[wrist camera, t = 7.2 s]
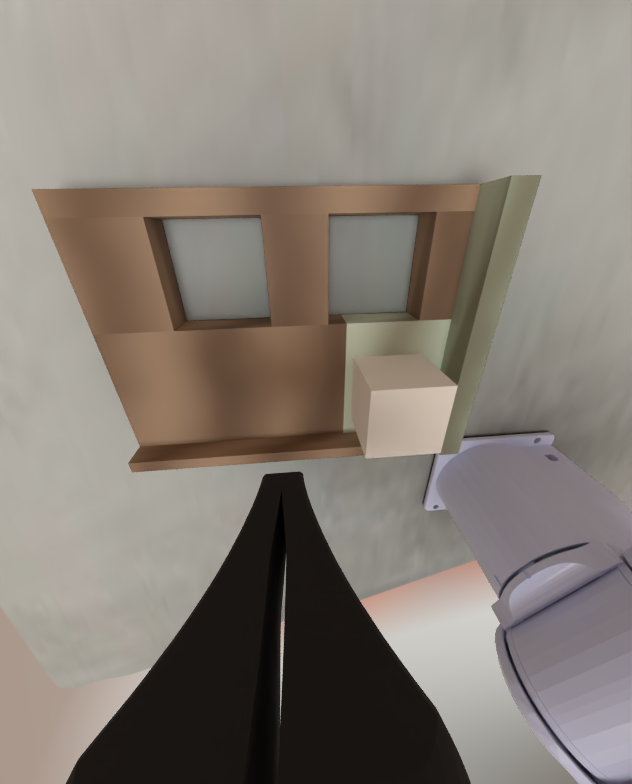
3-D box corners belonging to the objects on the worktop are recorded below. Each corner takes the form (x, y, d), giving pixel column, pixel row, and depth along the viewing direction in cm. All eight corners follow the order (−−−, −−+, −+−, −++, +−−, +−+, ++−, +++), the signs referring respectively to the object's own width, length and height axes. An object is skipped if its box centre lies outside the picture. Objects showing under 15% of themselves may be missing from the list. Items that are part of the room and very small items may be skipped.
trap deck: (479, 190, 14) (541, 175, 11) (430, 417, 21) (458, 453, 18) (66, 195, 13) (-16, 180, 9) (156, 435, 20) (128, 478, 16)
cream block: (421, 353, 16) (457, 385, 13) (411, 411, 18) (440, 452, 15) (353, 357, 16) (371, 391, 12) (350, 415, 18) (365, 458, 14)
